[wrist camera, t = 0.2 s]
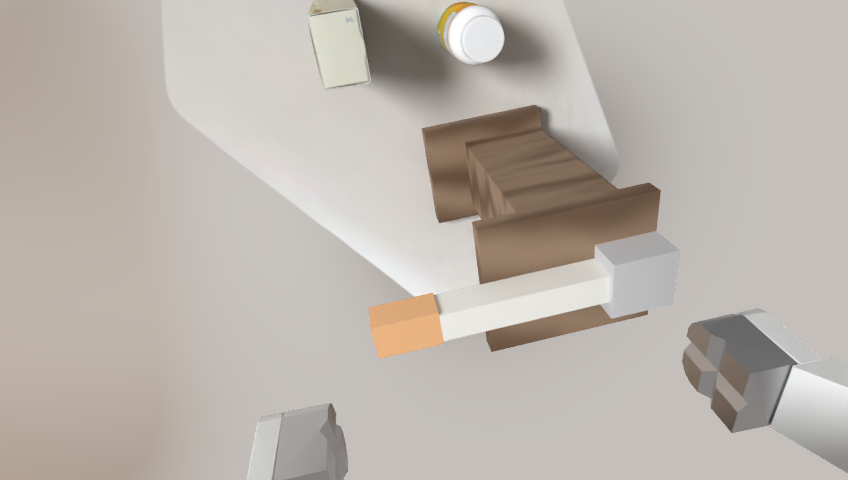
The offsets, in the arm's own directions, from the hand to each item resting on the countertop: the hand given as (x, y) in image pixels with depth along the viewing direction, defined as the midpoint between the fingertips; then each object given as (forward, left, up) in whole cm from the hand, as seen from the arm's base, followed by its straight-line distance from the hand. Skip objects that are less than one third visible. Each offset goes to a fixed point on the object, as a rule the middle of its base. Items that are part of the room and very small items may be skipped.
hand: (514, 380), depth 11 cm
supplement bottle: (-1, +10, -48) cm, 49 cm away
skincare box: (-3, -3, -48) cm, 48 cm away
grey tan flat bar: (+15, +6, -22) cm, 27 cm away
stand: (+15, +11, -48) cm, 51 cm away
